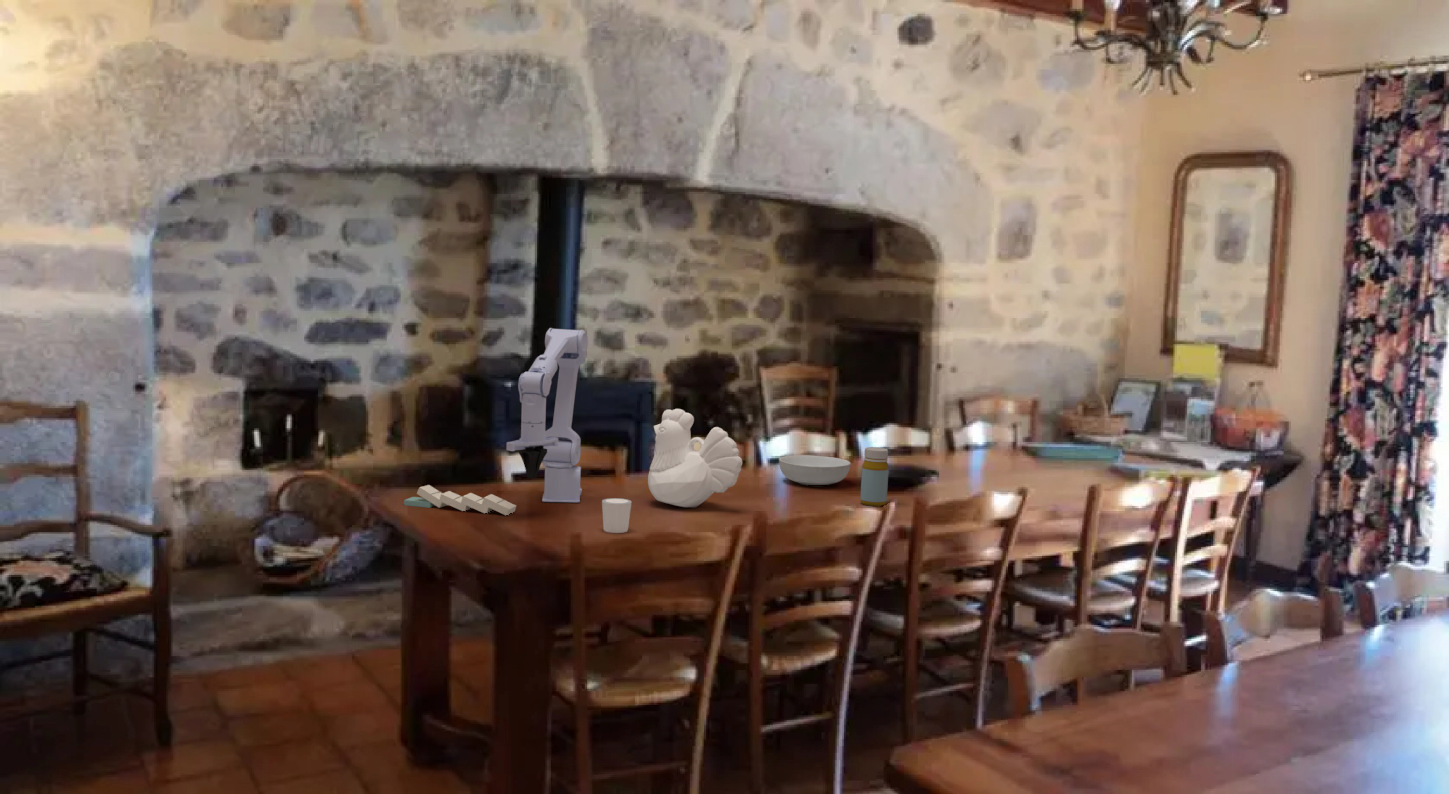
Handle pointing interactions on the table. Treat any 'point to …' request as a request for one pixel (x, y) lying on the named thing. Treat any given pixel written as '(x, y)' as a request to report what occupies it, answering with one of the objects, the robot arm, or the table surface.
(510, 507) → the lead tile
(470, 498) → the tile
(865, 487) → the bottle
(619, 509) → the shot glass
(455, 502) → the tile
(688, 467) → the decorative rooster
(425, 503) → the tile
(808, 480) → the serving bowl
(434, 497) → the tile
